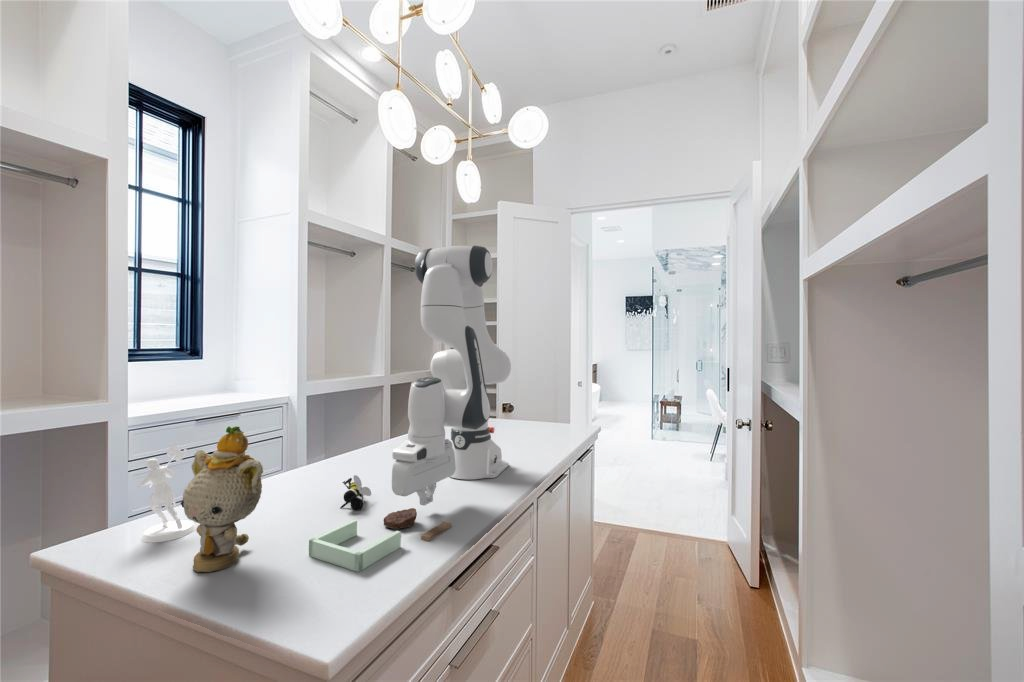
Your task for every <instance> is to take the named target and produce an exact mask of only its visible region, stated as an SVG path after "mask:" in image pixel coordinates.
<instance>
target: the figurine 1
mask: <svg viewBox="0 0 1024 682" xmlns="http://www.w3.org/2000/svg"><path fill="white" fill-rule="evenodd" d="M179 446H180V445H179V444H178V443H175V444H173V445H171V447H170V448H169V449H168V450H167V452H166V457H167V458H170V457H171V455H173V456H172V457H171V458H170V459H169V461H168V462H167V464H166V465H163V466H161V464H160V462H159V459H157V458H150V459H147V460H146V465H145V467H146V469H147V470H151V471H150V472H148V473H146V474H145V476H144V478H142V480H141V481H140V482H139V483H138V484H137V487H140V488H142V487H145V486H148V489H150V488H152V486H153V485H154V486H153V487H154V488H153V491H152V493H151V494H150V496H149V503H148V504H149V506H148V509H149V510H152V511H153V512H154V513H155V514H156V515H157V517H159V518H160V519H161V521H162V523H159V524H156V525H153V526H151V527H149V528H148V529H146V530H144V532H143V534H142V535H141V536H140V541H141V542H143V543H147V544H149V543H152V544H153V543H155V544H156V543H162V542H168V541H172V540H176V539H179V538H182V537H185V536H188V535H190V534H192V533H193V532H194V531H196V529H197V526H196V524H195V522H194V521H193V520H189V519H188V520H185V519H184V520H183V519H180V518H179V515H178V512H177V511H176V509H175V508H174V507H176V506H177V505H176V504H177V502H176V498H175V493H174V489H173V487H172V486H170V483H169V482H167V480H165V479H166V478H169V479H172V478H174V477H175V475H176V474H175V472H174V471H173V470H171V469H169V467H168V466H169V465H170V464H171V463H172V461H173V460H174V459H175V457H177V458H176V459H175V461H176V462H180V461H182V460H183V459H184V458H185V456H186V455H187V453H188V449H187V448H184V449H183V451H182V450H181V448H179V449H178V448H177V447H179ZM163 505H164V508H165V509H166V511H167V512H168V514H169V515H170V516H171V517H172V518H173V520H174V521H172V520H171V521H170V520H169V518H167V517H166V515H165V513H164V511H163V510H162V509H163ZM172 506H173V507H172Z"/></svg>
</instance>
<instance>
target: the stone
mask: <svg viewBox="0 0 1024 682" xmlns="http://www.w3.org/2000/svg"><path fill="white" fill-rule="evenodd" d="M417 514H418V512H417V509H416V508H414V507H412V508H408V509H401V510H397V511H391V512H390V513H388V514H387V515H386V516H385V517H383V521H382V522H383V526H384V527H387V528H388V529H394V530H398V529H406V528H409V527H412V526H413V525H415V522H416V519H417V516H418V515H417Z"/></svg>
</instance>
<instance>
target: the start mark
mask: <svg viewBox="0 0 1024 682" xmlns="http://www.w3.org/2000/svg"><path fill="white" fill-rule="evenodd" d="M451 527H452V523H451V522H447V521H442V522H441V523H440V524H438V525H436V526H434V527H433V528H431V529H430V530H428V531H426V532H424V533H423V534H421V535H420V540H423V541H426V542H429V541H431V540H433V539H435V538H436V537H438V536H439V535H441V534H442V533H444V532H446V531H447V530H448V529H450V528H451Z"/></svg>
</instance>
